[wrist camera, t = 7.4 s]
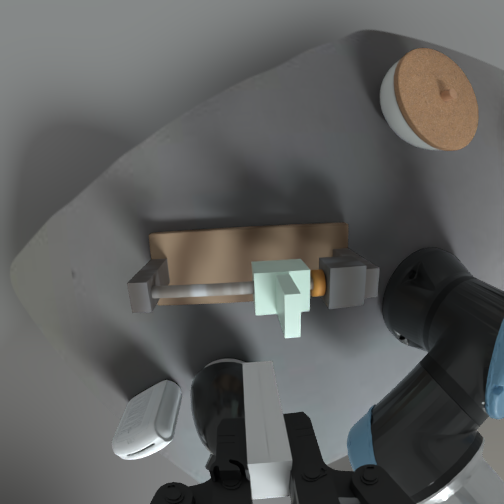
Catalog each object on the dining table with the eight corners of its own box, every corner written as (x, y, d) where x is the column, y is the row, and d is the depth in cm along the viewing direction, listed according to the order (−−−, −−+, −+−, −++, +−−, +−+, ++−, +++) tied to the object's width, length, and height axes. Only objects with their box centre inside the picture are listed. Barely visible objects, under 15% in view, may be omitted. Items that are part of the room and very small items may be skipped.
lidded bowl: (352, 70, 33) (390, 39, 22) (424, 68, 32) (469, 46, 22) (379, 160, 35) (427, 156, 25) (447, 148, 35) (498, 144, 25)
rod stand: (344, 222, 37) (383, 238, 26) (342, 289, 39) (376, 325, 28) (151, 232, 36) (120, 253, 25) (160, 301, 38) (136, 342, 27)
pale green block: (300, 258, 30) (326, 288, 22) (300, 295, 31) (323, 336, 23) (251, 261, 30) (258, 294, 21) (253, 299, 31) (260, 342, 22)
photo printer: (143, 416, 43) (126, 470, 31) (125, 399, 42) (102, 452, 30) (187, 392, 42) (176, 451, 30) (168, 374, 41) (150, 432, 29)
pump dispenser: (182, 386, 41) (166, 462, 26) (212, 335, 40) (204, 411, 25) (242, 410, 43) (246, 486, 28) (277, 364, 41) (295, 441, 26)
